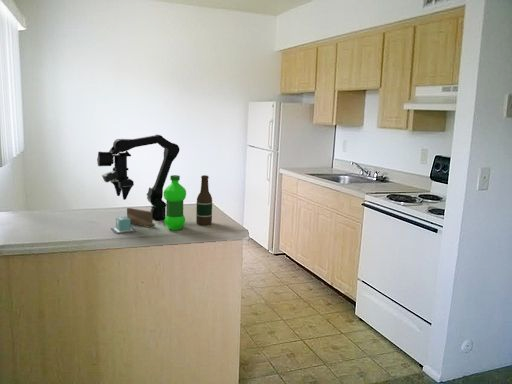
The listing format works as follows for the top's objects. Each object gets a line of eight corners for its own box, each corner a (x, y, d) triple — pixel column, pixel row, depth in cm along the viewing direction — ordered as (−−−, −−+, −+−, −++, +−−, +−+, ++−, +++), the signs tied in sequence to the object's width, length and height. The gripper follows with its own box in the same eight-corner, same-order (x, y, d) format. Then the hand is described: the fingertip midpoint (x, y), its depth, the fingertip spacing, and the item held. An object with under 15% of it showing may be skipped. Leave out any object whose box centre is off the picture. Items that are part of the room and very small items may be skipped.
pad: (129, 226, 209) (129, 225, 209) (136, 231, 202) (136, 230, 202) (110, 229, 204) (110, 228, 204) (116, 234, 197) (116, 233, 197)
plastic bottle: (161, 226, 212) (161, 174, 207) (183, 224, 216) (183, 173, 211) (166, 232, 203) (165, 178, 198) (188, 230, 207) (189, 177, 202)
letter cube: (126, 227, 206) (126, 216, 205) (130, 229, 202) (130, 219, 201) (115, 228, 204) (115, 217, 203) (119, 231, 199) (119, 220, 198)
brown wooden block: (131, 220, 219) (131, 207, 218) (154, 225, 213) (154, 211, 212) (124, 223, 215) (124, 209, 213) (147, 227, 209) (147, 213, 207)
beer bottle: (214, 223, 221) (215, 175, 216) (206, 226, 214) (207, 177, 209) (201, 220, 224) (202, 173, 219) (193, 224, 217) (193, 175, 212)
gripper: (98, 163, 215) (99, 195, 218) (109, 169, 200) (110, 203, 203) (120, 162, 221) (121, 193, 224) (133, 168, 206) (134, 201, 209)
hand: (121, 197), depth 215 cm, fingers open, 9 cm apart
